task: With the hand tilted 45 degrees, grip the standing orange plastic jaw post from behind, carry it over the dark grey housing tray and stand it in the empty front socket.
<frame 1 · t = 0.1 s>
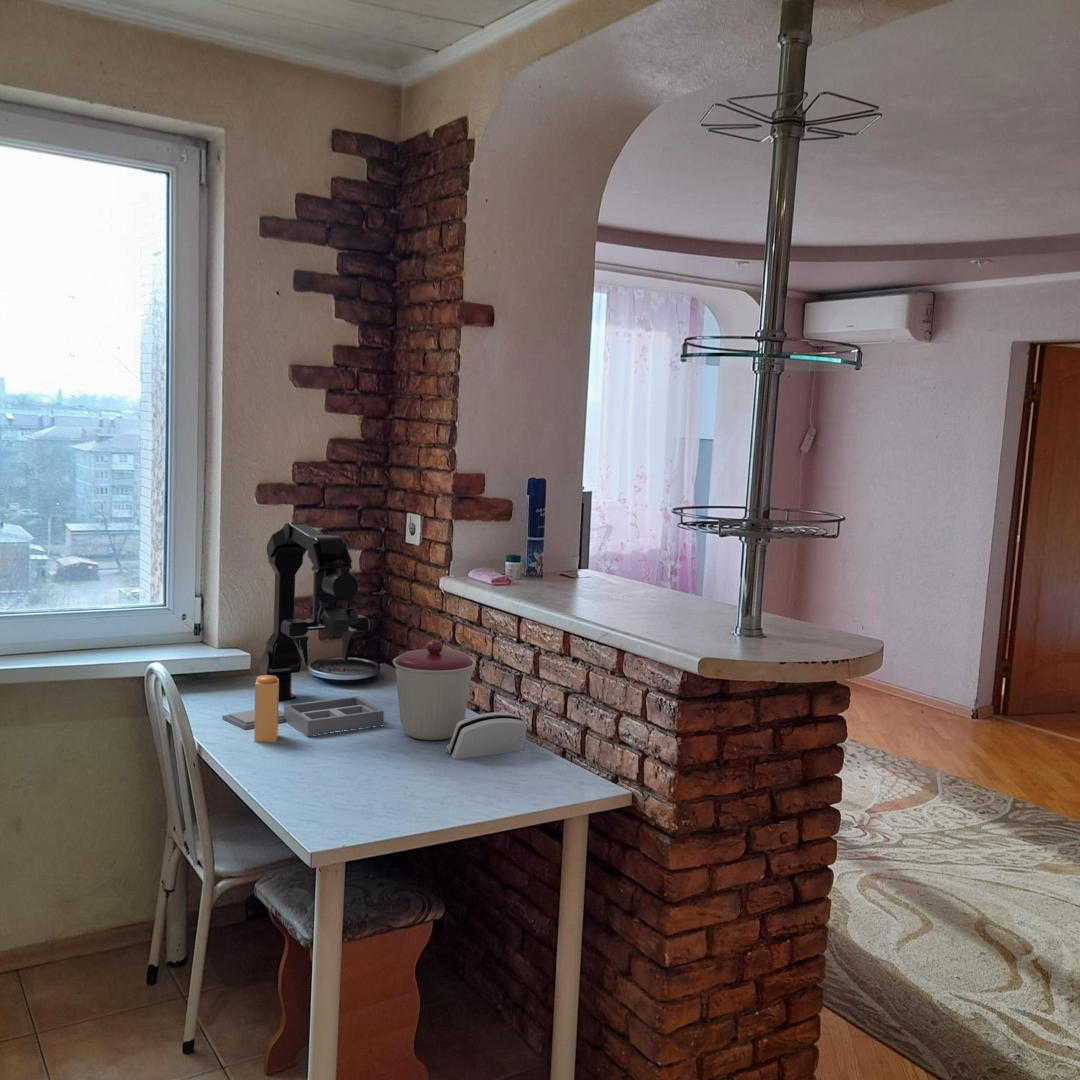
hand: (325, 663, 228), 15 cm above the table, tool pointing down, fingers open, 9 cm apart
napkin holder: (487, 754, 217), on the table
jaw post: (266, 738, 220), on the table
canister: (431, 734, 228), on the table
housing: (333, 723, 233), on the table
lid: (257, 719, 233), on the table
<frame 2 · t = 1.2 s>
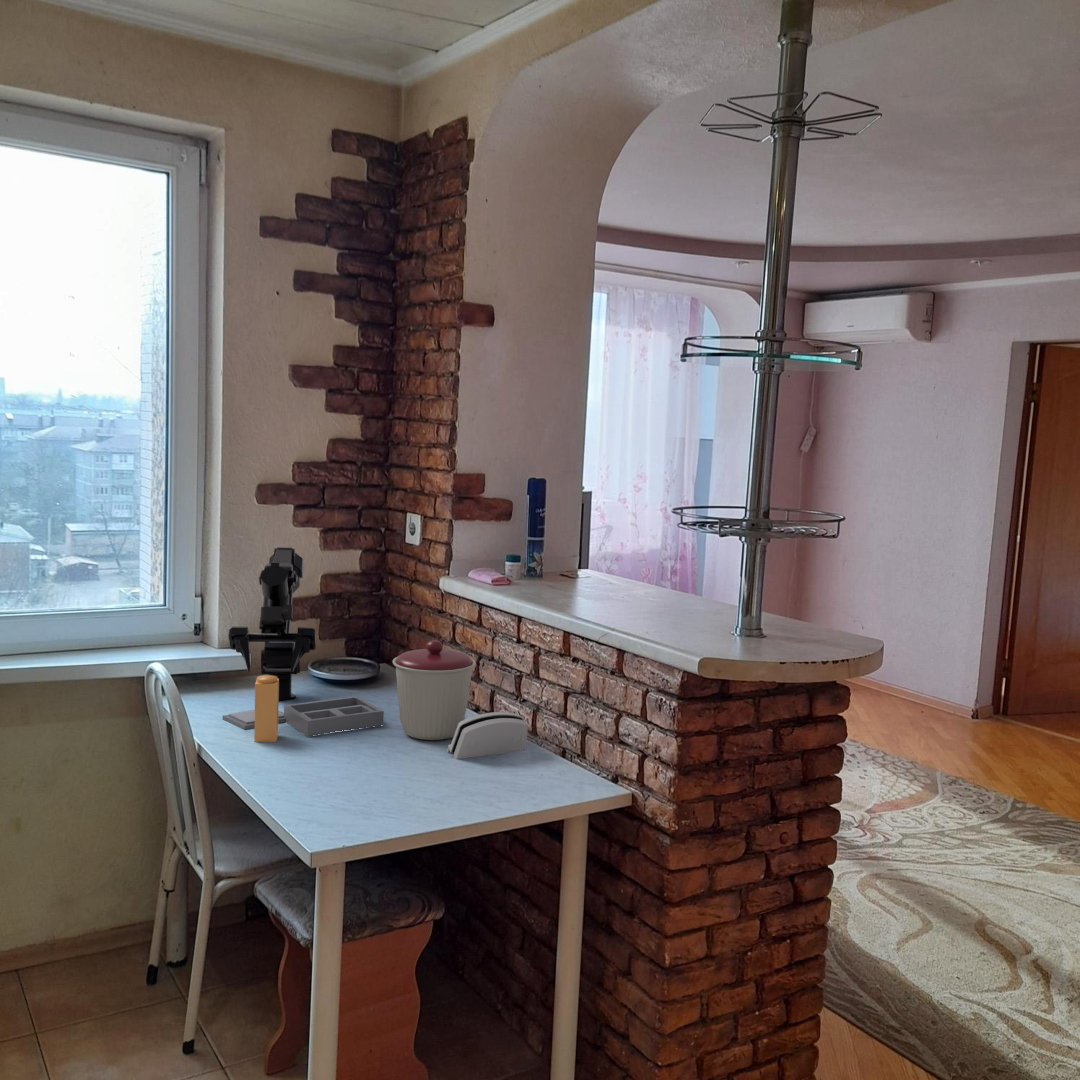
hand: (270, 670, 226), 13 cm above the table, tool tilted 45°, fingers open, 9 cm apart
nothing on the table moved.
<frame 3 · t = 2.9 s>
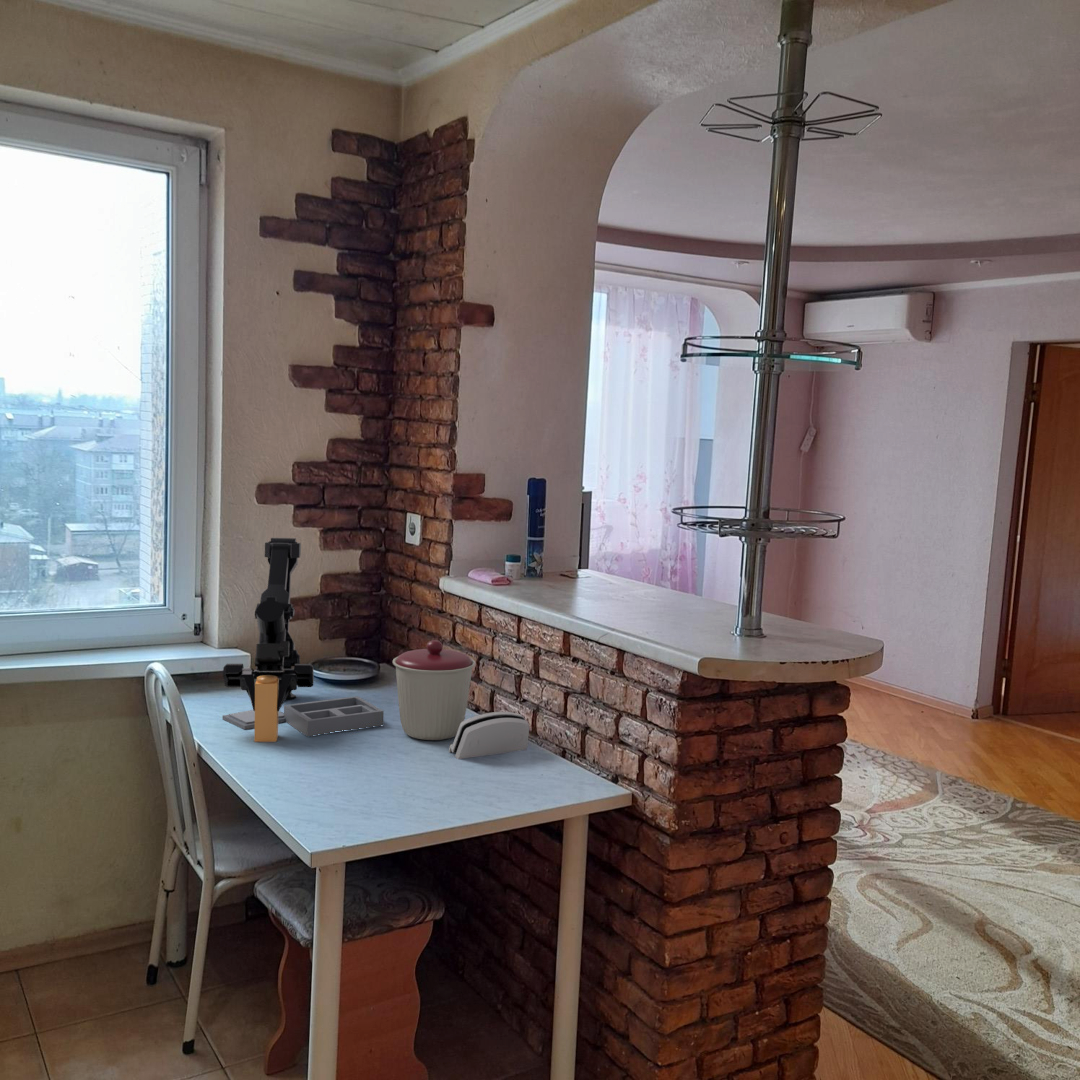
hand: (266, 710, 218), 7 cm above the table, tool tilted 45°, fingers closed on jaw post, 4 cm apart
jaw post: (266, 738, 220), on the table, touching gripper
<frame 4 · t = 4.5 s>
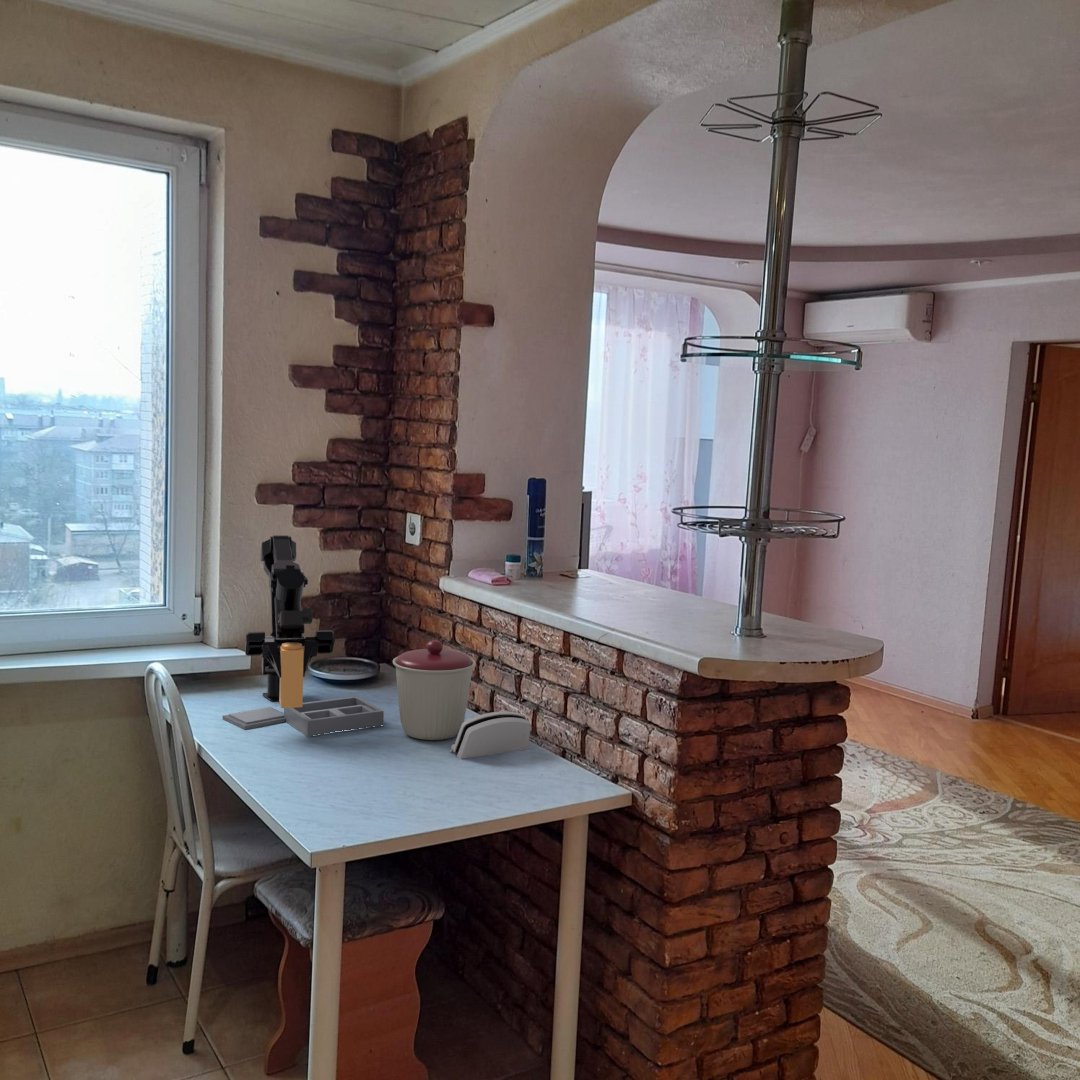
hand: (292, 676, 221), 13 cm above the table, tool tilted 45°, fingers closed on jaw post, 4 cm apart
jaw post: (290, 704, 223), point 7 cm above the table, touching gripper
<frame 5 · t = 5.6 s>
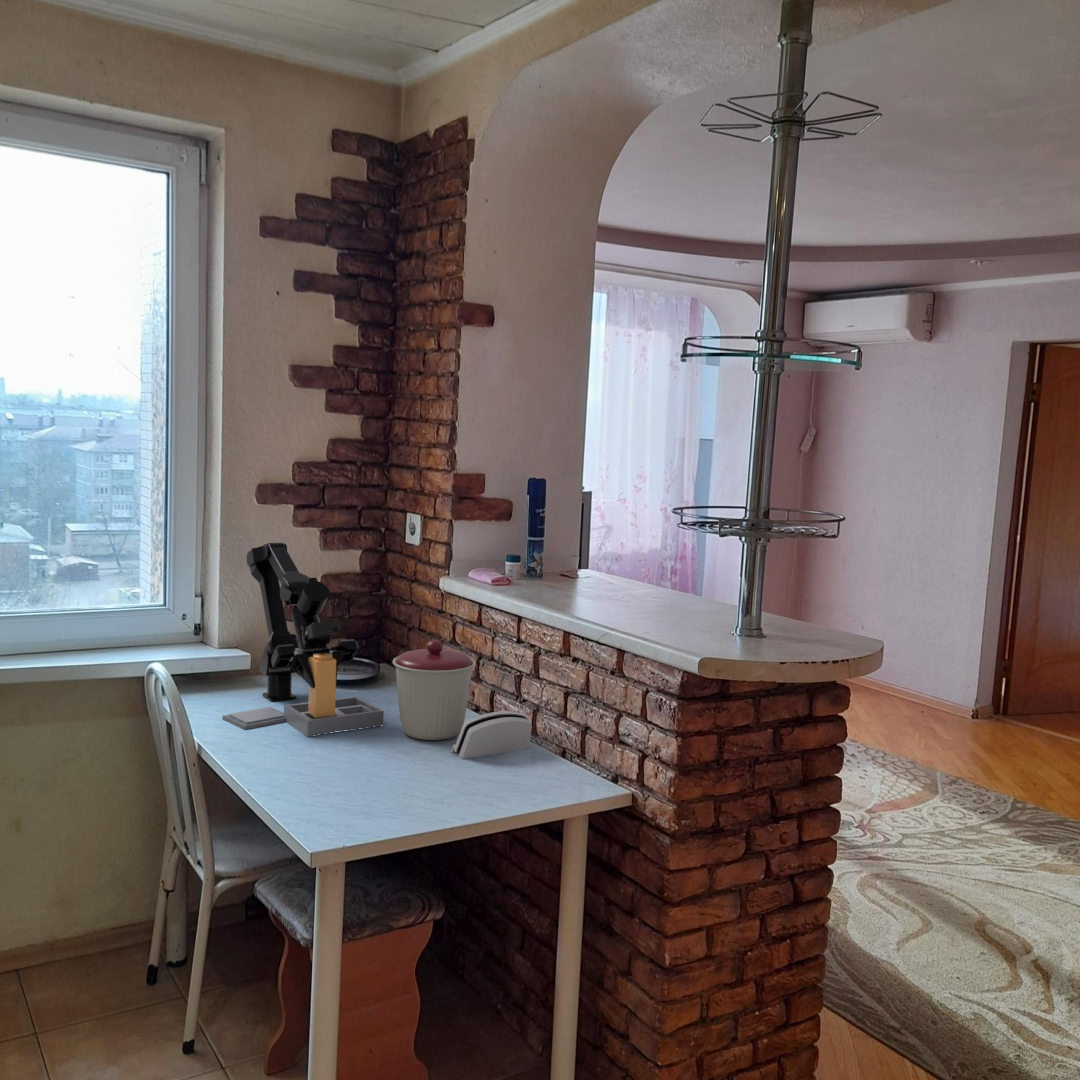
hand: (324, 686, 226), 10 cm above the table, tool tilted 45°, fingers closed on jaw post, 4 cm apart
jaw post: (321, 713, 228), point 3 cm above the table, touching gripper
when the fingers open (9 cm above the table, at t = 6.1 s): jaw post drops 1 cm, resting on housing.
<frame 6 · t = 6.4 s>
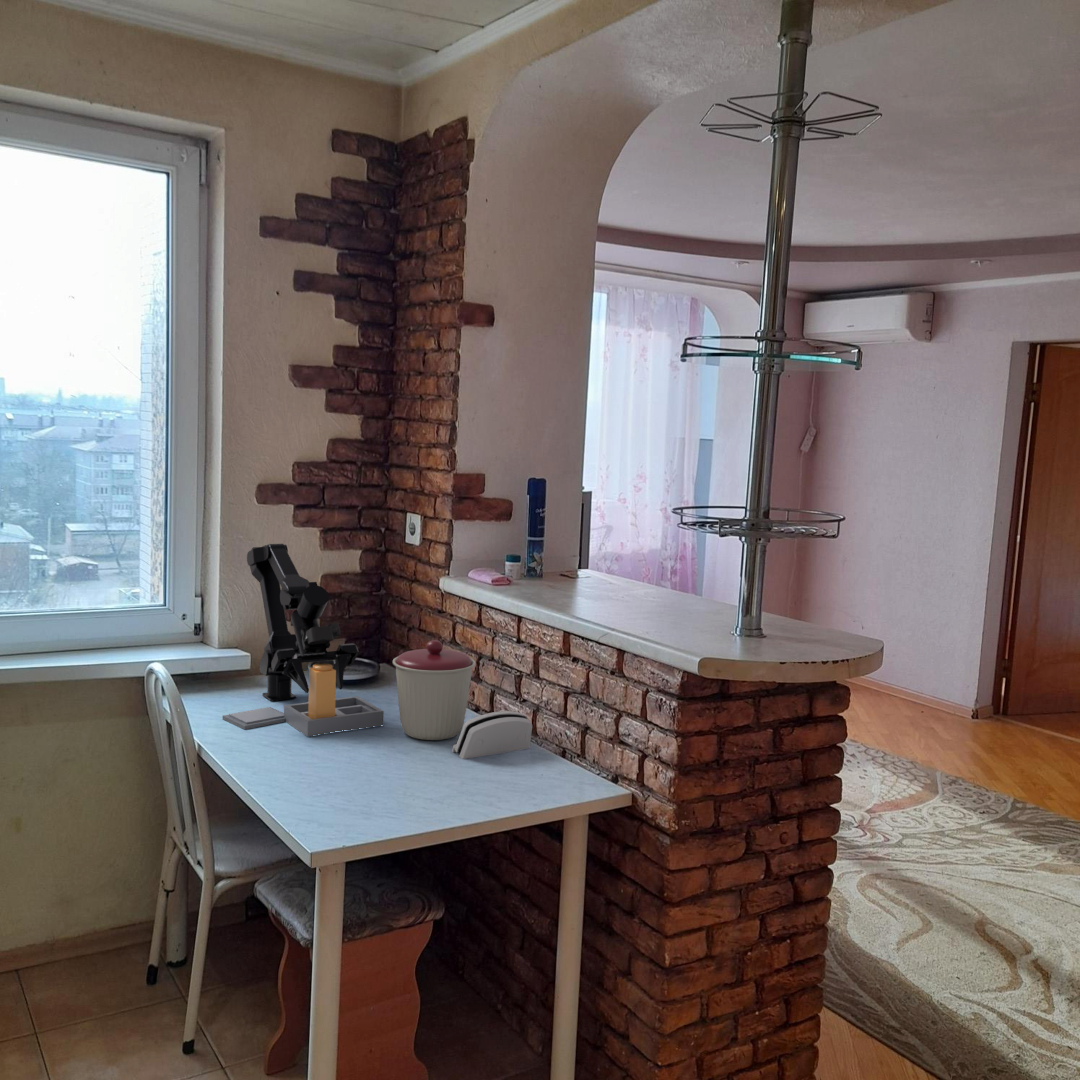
hand: (324, 690, 226), 9 cm above the table, tool tilted 45°, fingers open, 7 cm apart
jaw post: (321, 724, 228), point 1 cm above the table, touching housing
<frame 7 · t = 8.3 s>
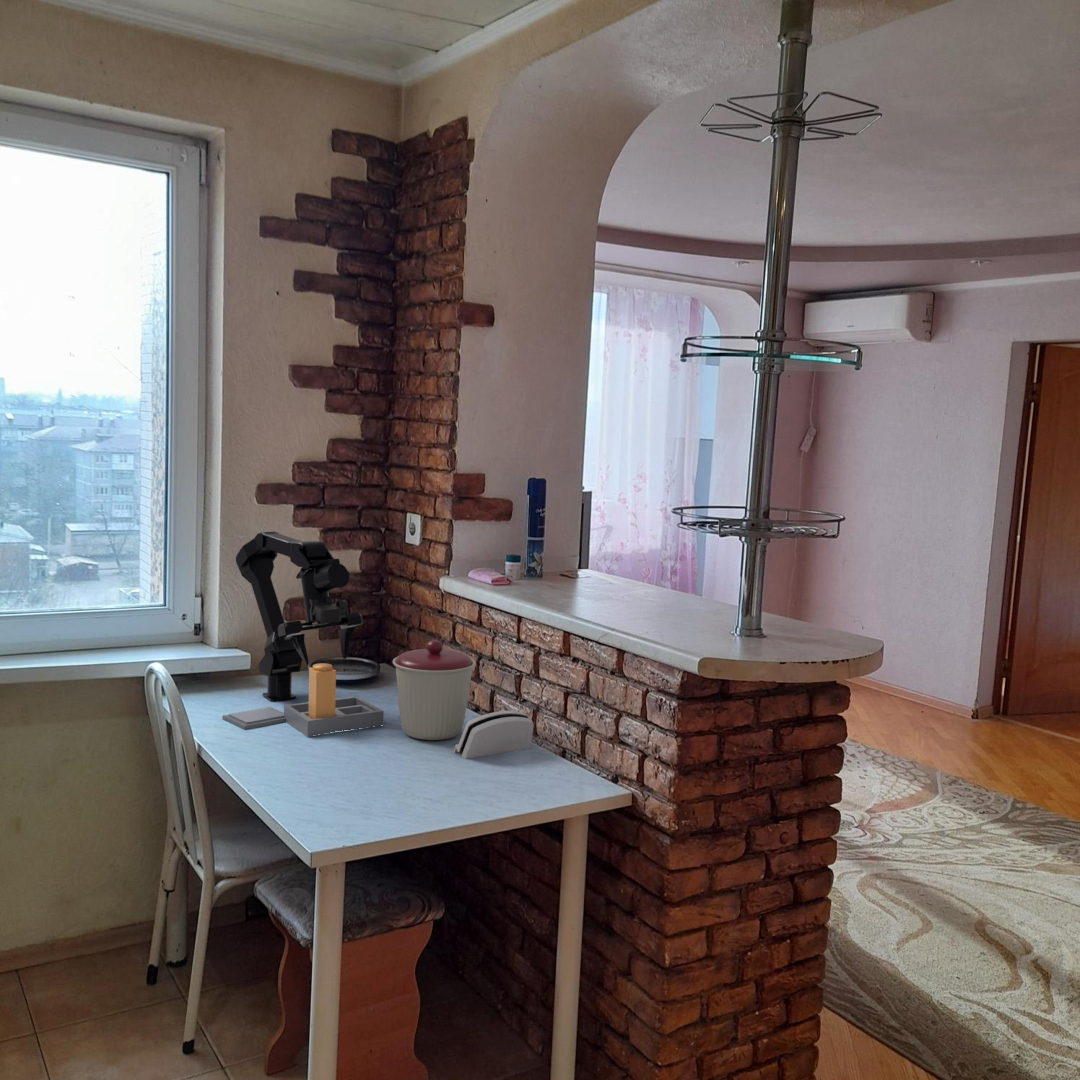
hand: (326, 661, 238), 13 cm above the table, tool tilted 15°, fingers open, 9 cm apart
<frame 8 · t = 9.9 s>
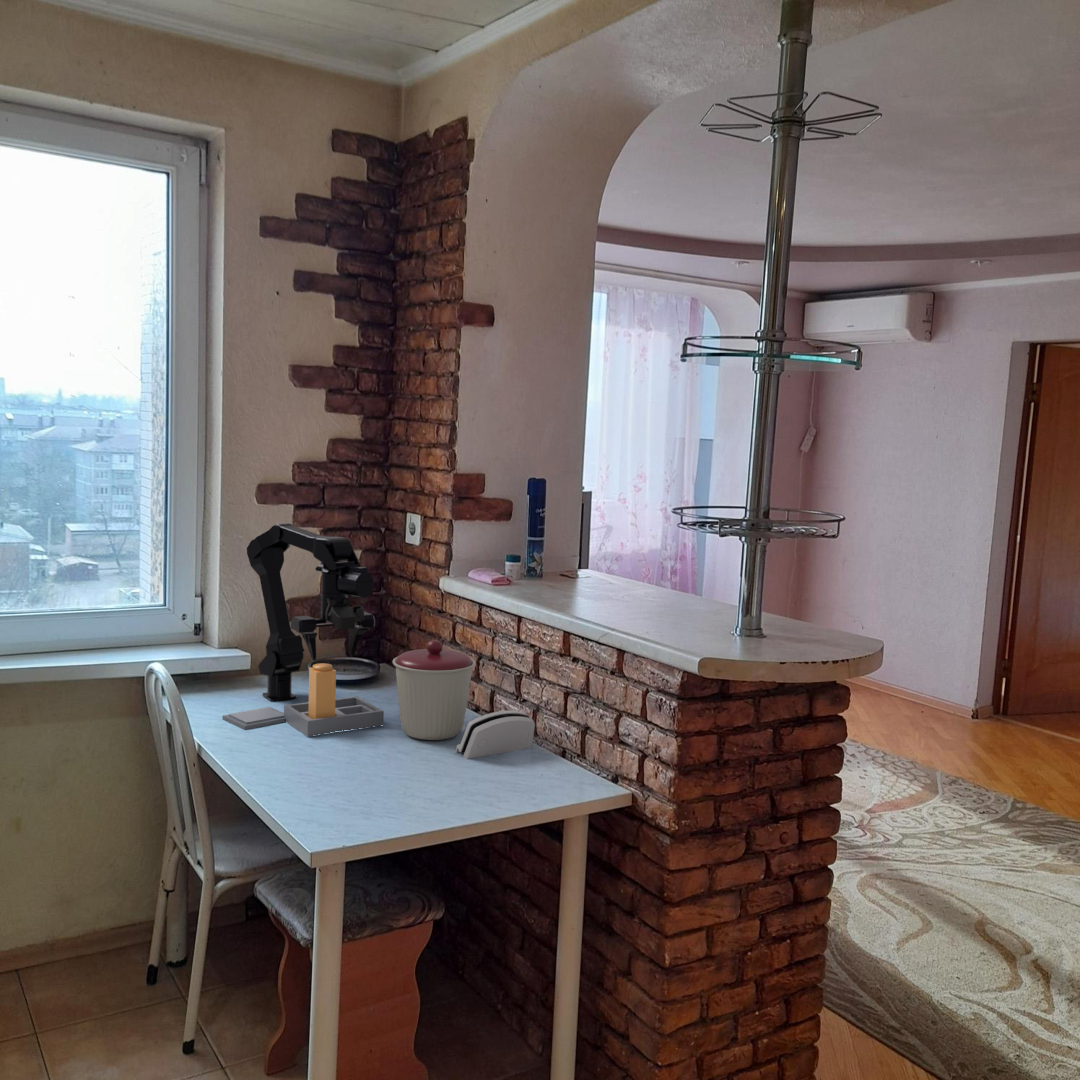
hand: (332, 658, 240), 13 cm above the table, tool pointing down, fingers open, 9 cm apart
at the end: jaw post 0.0 cm from the target spot on the housing, point 1.0 cm above the housing's base; jaw post tilted 0°; the gripper is holding nothing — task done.
